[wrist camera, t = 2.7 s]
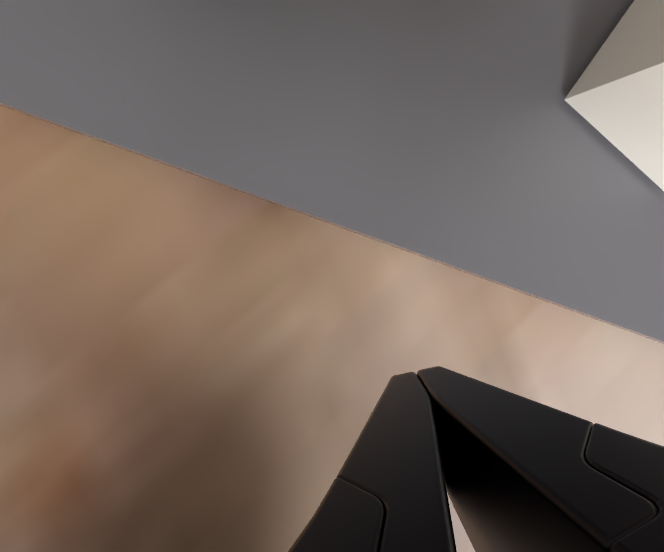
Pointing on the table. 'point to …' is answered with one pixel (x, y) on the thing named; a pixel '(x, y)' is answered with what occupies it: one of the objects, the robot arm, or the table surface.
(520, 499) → the robot arm
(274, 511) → the table surface
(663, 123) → the white lidded canister
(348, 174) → the board
